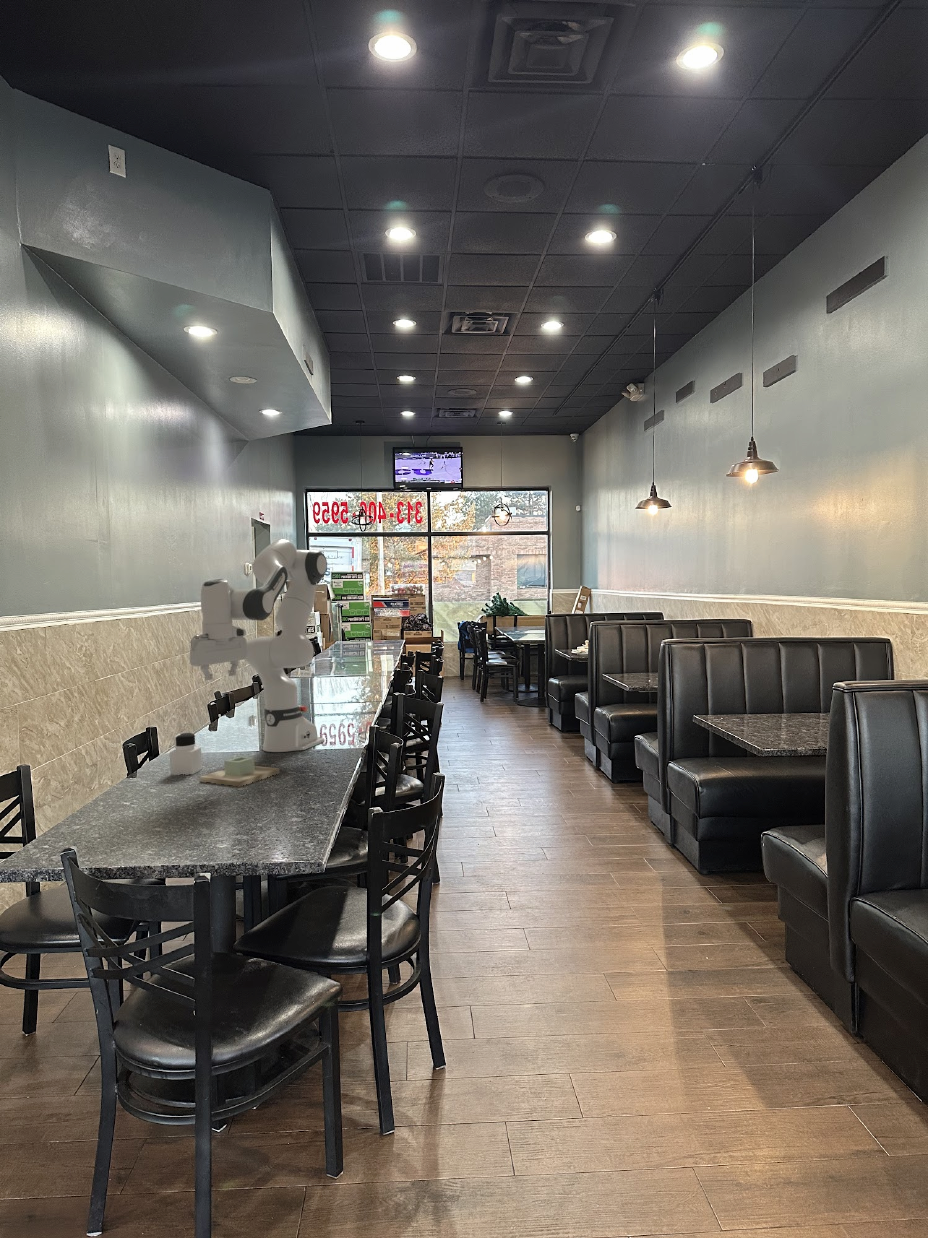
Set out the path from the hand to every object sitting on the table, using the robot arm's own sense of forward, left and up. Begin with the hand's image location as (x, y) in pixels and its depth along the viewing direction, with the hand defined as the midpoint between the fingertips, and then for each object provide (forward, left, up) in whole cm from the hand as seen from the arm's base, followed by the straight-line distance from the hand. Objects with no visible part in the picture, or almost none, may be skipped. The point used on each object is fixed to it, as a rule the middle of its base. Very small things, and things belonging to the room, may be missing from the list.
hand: (220, 677), depth 242 cm
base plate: (+4, +10, -29) cm, 31 cm away
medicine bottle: (+5, -12, -29) cm, 32 cm away
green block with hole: (+4, +10, -28) cm, 30 cm away
